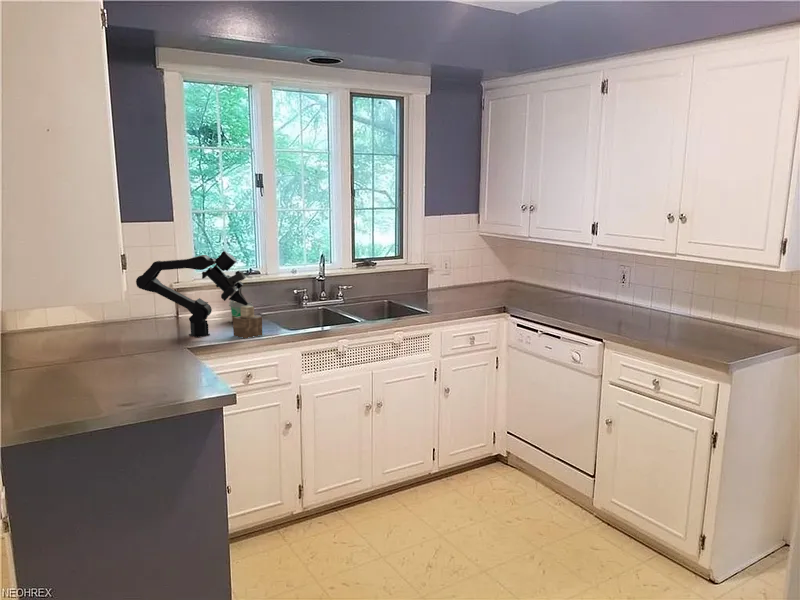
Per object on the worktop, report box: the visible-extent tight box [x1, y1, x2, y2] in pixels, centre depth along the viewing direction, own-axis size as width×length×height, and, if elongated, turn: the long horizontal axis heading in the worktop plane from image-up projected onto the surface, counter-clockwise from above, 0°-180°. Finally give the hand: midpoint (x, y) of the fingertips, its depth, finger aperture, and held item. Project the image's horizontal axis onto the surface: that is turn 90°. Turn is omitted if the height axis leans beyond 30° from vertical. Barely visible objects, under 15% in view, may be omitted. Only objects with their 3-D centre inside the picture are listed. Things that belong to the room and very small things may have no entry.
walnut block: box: [232, 314, 263, 339], centre depth 262 cm, size 9×8×8 cm
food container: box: [228, 300, 254, 322], centre depth 288 cm, size 12×6×10 cm, turn 62°
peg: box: [240, 306, 255, 319], centre depth 261 cm, size 4×4×8 cm
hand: (247, 304), depth 261 cm, fingers closed
